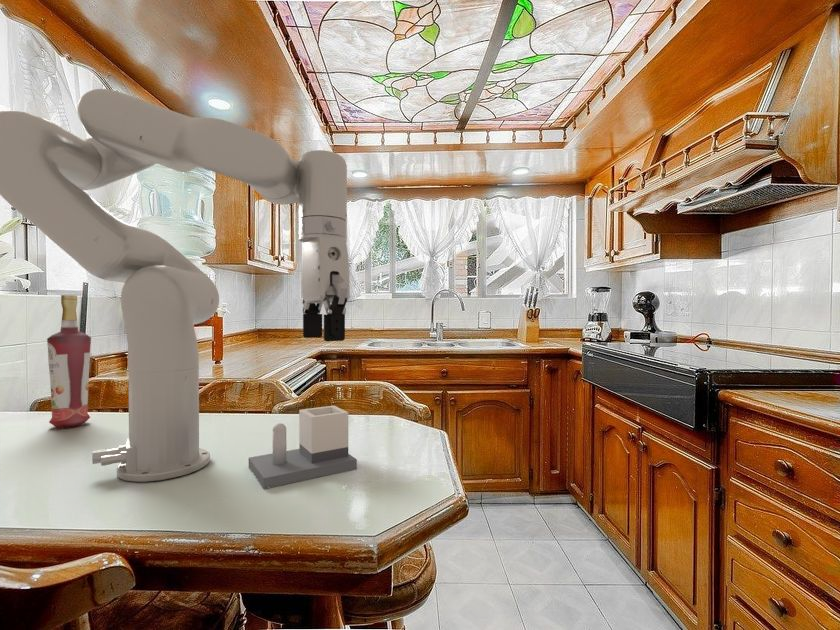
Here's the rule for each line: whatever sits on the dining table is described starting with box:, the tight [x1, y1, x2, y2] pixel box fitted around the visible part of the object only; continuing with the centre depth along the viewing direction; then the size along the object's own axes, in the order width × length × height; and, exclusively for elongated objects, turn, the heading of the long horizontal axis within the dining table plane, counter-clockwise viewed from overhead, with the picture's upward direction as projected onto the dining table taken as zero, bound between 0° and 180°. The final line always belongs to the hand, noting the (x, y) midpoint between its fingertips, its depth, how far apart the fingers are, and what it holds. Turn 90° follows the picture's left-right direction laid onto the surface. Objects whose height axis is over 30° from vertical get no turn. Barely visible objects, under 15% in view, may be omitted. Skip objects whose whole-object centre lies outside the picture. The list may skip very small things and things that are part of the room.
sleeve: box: [298, 405, 349, 463], centre depth 70 cm, size 6×6×7 cm
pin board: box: [248, 422, 358, 489], centre depth 68 cm, size 14×10×8 cm
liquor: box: [46, 294, 92, 429], centre depth 93 cm, size 7×7×28 cm
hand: (322, 339), depth 69 cm, fingers open, 9 cm apart
